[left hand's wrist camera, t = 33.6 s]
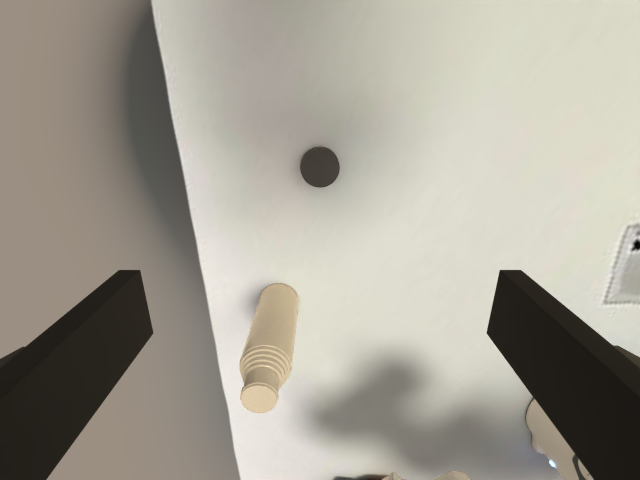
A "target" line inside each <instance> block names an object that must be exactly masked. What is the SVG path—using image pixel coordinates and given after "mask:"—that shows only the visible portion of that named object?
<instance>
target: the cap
mask: <svg viewBox="0 0 640 480" xmlns="http://www.w3.org/2000/svg"><path fill="white" fill-rule="evenodd" d="M301 174H302V176H303V178H304V179H305V181H306V182H307V183H308V184H310V185H312V186H315V187H326V186H328V185H330V184H332V183H333V182H334V181H335V180H336V178H337V176H338V174H339V162H338V159H337V157H336V155H335V154H334V153H333V152H332V151H331V150H330V149H328V148H325V147H315V148H312V149H311V150H309V151H308V152H307V153H306V154H305V155H304V157H303V159H302V162H301Z"/></svg>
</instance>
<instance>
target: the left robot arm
mask: <svg viewBox="0 0 640 480" xmlns="http://www.w3.org/2000/svg"><path fill="white" fill-rule="evenodd" d="M152 334H153V329H152V325H151V320H150V315H149V310H148V305H147V301H146V296H145V291H144V286H143V282H142V277H141V272H140V270H119V271H117V272H116V273H115V274H114V275H113V276H111V277H110V278H109V279H108V280H106V281H105V282H104V283H103V284H102V285H100V286H99V287H98V288H97V289H96V290H94V291H93V292H92V293H91V294H89V295H88V296H87V297H86V298H85V299H83V300H82V301H81V302H80V303H78V304H77V305H76V306H75V307H74V308H72V309H71V310H70V311H69V312H67V313H66V314H65V315H64V316H63V317H61V318H60V319H59V320H58V321H57V322H55V323H54V324H53V325H52V326H50V327H49V328H48V329H47V330H46V331H44V332H43V333H42V334H41V335H39V336H38V337H37V338H36V339H35V340H33V341H32V342H31V343H30V344H29V345H27V346H26V347H22V348H20V349H18V350H16V351H14V352H12V353H10V354H9V355H7V356H5V357H3V358H1V359H0V480H46V479H47V478H48V476H49V475H50V474H51V472H52V471H53V470H54V468H55V467H56V465H57V464H58V463H59V461H60V460H61V459H62V457H63V456H64V455H65V453H66V452H67V450H68V449H69V448H70V446H71V445H72V444H73V442H74V441H75V439H76V438H77V437H78V435H79V434H80V433H81V431H82V430H83V429H84V427H85V426H86V424H87V423H88V422H89V420H90V419H91V418H92V416H93V415H94V414H95V412H96V411H97V409H98V408H99V407H100V405H101V404H102V403H103V401H104V400H105V399H106V397H107V396H108V394H109V393H110V392H111V390H112V389H113V388H114V386H115V385H116V384H117V382H118V381H119V379H120V378H121V377H122V375H123V374H124V372H125V371H126V370H127V368H128V367H129V366H130V364H131V363H132V362H133V360H134V359H135V358H136V356H137V355H138V353H139V352H140V351H141V349H142V348H143V347H144V345H145V344H146V342H147V341H148V340H149V338H150V337H151V336H152ZM487 334H488V336H489V337H490V338H491V340H492V341H493V342H494V344H495V345H496V347H497V348H498V349H499V351H500V352H501V353H502V355H503V356H504V358H505V359H506V360H507V362H508V363H509V364H510V366H511V367H512V368H513V370H514V371H515V373H516V374H517V375H518V377H519V378H520V379H521V381H522V382H523V384H524V385H525V386H526V388H527V389H528V390H529V392H530V393H531V394H532V396H533V397H534V399H535V400H536V401H537V403H538V404H539V405H540V407H541V408H542V409H543V411H544V412H545V414H546V415H547V416H548V418H549V419H550V420H551V422H552V423H553V425H554V426H555V427H556V429H557V430H558V431H559V433H560V434H561V435H562V437H563V438H564V440H565V441H566V442H567V444H568V445H569V446H570V448H571V449H572V451H573V452H574V453H575V455H576V456H577V457H578V459H579V460H580V461H581V463H582V464H583V466H584V467H585V468H586V470H587V471H588V472H589V474H590V475H591V476H592V478H593V479H594V480H640V357H638V356H636V355H634V354H632V353H630V352H629V351H627V350H625V349H623V348H621V347H619V346H613V345H611V344H610V343H609V342H608V341H607V340H605V339H604V338H603V337H602V336H601V335H599V334H598V333H597V332H596V331H594V330H593V329H592V328H591V327H590V326H588V325H587V324H586V323H585V322H583V321H582V320H581V319H580V318H579V317H577V316H576V315H575V314H574V313H573V312H571V311H570V310H569V309H568V308H566V307H565V306H564V305H563V304H562V303H560V302H559V301H558V300H557V299H555V298H554V297H553V296H552V295H551V294H549V293H548V292H547V291H546V290H544V289H543V288H542V287H541V286H540V285H538V284H537V283H536V282H535V281H534V280H532V279H531V278H530V277H529V276H527V275H526V274H525V273H524V272H523V271H521V270H500V272H499V277H498V282H497V286H496V291H495V296H494V301H493V305H492V310H491V315H490V320H489V325H488V329H487Z"/></svg>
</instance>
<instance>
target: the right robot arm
mask: <svg viewBox="0 0 640 480" xmlns="http://www.w3.org/2000/svg"><path fill="white" fill-rule="evenodd" d="M526 422H527V426H528V428H529V430H530V431H531V433H532V436H533V437H532V446H533V448H534V449H535V450H536V452H537V453H540V454H545V455H546V456H547V457H548V459H549V460H550V464H551V466H554V467H555V468H556V469H557V471H558V472H559V473H560V475H561V476H562V477H563V479H564V480H594V479H593V478H592V476H591V475H590V474H589V472H588V471H587V470H586V468H585V467H584V466H583V464H582V463H581V461H580V460H579V459H578V457H577V456H576V455H575V453H574V452H573V451H572V449H571V448H570V446H569V445H568V444H567V442H566V441H565V440H564V438H563V437H562V435H561V434H560V433H559V431H558V430H557V429H556V427H555V426H554V425H553V423H552V422H551V420H550V419H549V418H548V416H547V415H546V414H545V412H544V411H543V409H542V408H541V407H540V405H539V404H538V403H537V401H536V400H535V399H534V400H533V401H532V402H531V404H530V406H529V408H528V411H527V415H526ZM381 480H403V479H402V478H401V477H400V476H398V475H397V474H396V473H395V472H393V473H391V474H390V475H388V476H386V477H385V478H383V479H381ZM435 480H472V479H471V478H470V477H469V476H468V475H467V474H466V473H464V472H458V471H450V472H448V473H446V474H444V475H443V476H441V477H439V478H437V479H435Z"/></svg>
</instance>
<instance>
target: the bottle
mask: <svg viewBox="0 0 640 480" xmlns="http://www.w3.org/2000/svg"><path fill="white" fill-rule="evenodd" d="M298 305H299V298H298V295H297V293H296V292H295V290H294V289H293V288H291V287H290V286H288V285H285V284H272V285H270V286H268V287H266V288H265V289H264V290H263V291H262V293H261V296H260V299H259V302H258V305H257V308H256V312H255V315H254V318H253V321H252V324H251V328H250V331H249V334H248V337H247V340H246V343H245V347H244V350H243V353H242V356H241V360H240V372H241V375H242V378H243V381H244V387H243V388H242V390H241V394H240V400H241V403H242V404H243V406H244V407H245V408H246V409H248V410H249V411H251V412H255V413H265V412H268V411H270V410H272V409H273V408H274V407H275V405H276V403H277V401H278V390H279V388H280V387H281V386H282V385H283V384H284V383H285V382H286V380H287V379H288V377H289V375H290V373H291V369H292V360H293V351H294V342H295V332H296V323H297V314H298Z"/></svg>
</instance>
